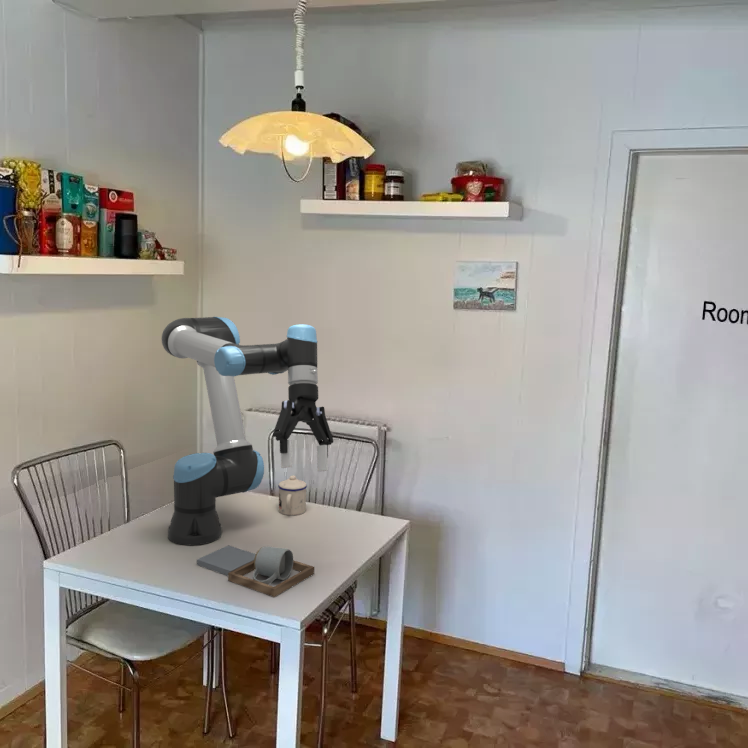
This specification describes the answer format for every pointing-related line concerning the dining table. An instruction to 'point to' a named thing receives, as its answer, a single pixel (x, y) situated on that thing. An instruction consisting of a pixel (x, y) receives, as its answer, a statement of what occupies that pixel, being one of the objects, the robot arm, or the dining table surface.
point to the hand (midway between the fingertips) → (305, 469)
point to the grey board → (226, 559)
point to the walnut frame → (264, 588)
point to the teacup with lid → (292, 496)
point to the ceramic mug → (273, 563)
